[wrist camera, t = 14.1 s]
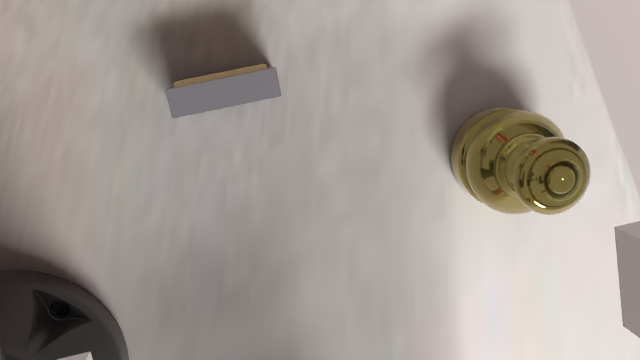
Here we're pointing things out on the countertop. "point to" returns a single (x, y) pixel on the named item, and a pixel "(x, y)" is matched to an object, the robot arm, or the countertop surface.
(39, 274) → the robot arm
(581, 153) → the gold stepped round piece
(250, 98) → the holder
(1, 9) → the countertop surface
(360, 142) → the countertop surface
